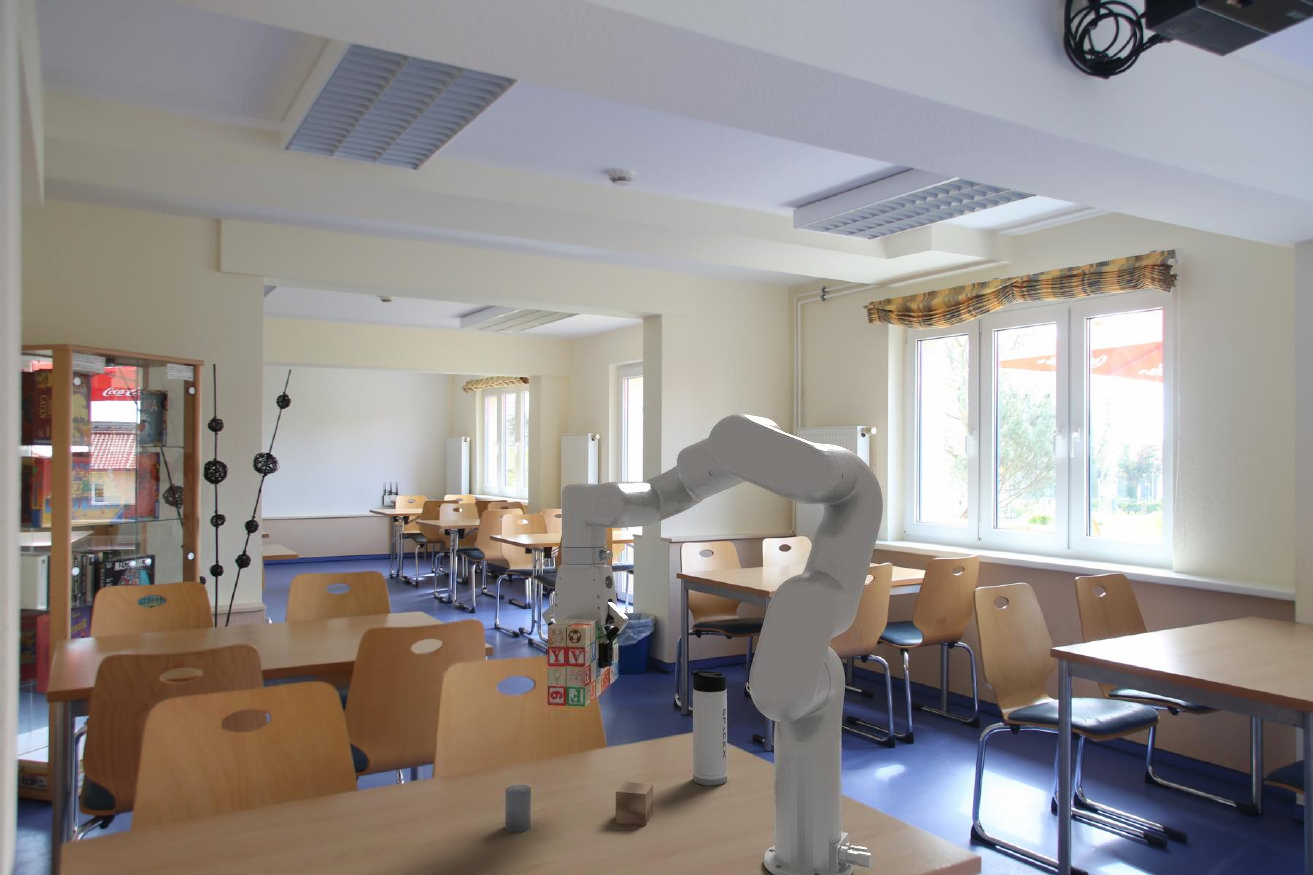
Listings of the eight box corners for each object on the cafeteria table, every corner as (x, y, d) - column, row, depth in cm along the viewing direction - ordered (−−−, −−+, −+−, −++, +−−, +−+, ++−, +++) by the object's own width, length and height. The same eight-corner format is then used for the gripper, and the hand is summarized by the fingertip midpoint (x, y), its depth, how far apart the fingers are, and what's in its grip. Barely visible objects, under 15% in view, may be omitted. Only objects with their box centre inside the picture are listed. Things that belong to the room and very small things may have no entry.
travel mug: (686, 777, 166) (686, 668, 168) (719, 773, 168) (719, 666, 170) (698, 787, 161) (697, 674, 162) (732, 783, 163) (731, 672, 164)
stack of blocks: (584, 677, 159) (584, 607, 160) (619, 678, 158) (618, 608, 159) (546, 705, 138) (546, 625, 139) (585, 707, 137) (585, 625, 138)
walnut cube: (653, 814, 147) (653, 783, 148) (645, 825, 143) (645, 793, 143) (623, 812, 149) (623, 781, 149) (615, 823, 144) (615, 791, 144)
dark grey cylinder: (535, 825, 142) (535, 787, 143) (520, 834, 139) (521, 794, 139) (515, 821, 144) (515, 783, 145) (499, 829, 141) (500, 790, 141)
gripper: (640, 557, 148) (641, 665, 147) (553, 554, 156) (553, 657, 155) (618, 560, 142) (618, 673, 141) (528, 557, 150) (527, 664, 149)
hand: (584, 664), depth 148 cm, fingers closed on stack of blocks, 7 cm apart
